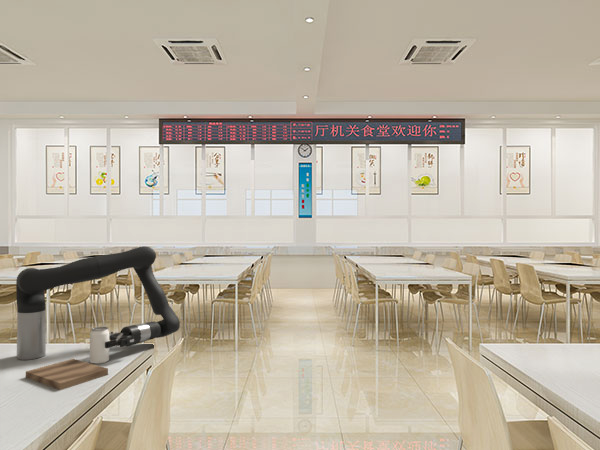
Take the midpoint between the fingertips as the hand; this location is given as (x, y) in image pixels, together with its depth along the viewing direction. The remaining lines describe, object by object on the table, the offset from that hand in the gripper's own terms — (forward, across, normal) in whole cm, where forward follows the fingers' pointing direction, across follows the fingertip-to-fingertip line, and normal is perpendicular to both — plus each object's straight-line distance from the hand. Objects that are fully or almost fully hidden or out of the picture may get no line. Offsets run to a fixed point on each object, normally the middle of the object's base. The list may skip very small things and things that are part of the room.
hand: (98, 343), depth 158 cm
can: (0, 0, +7) cm, 7 cm away
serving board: (+14, +5, +7) cm, 17 cm away
